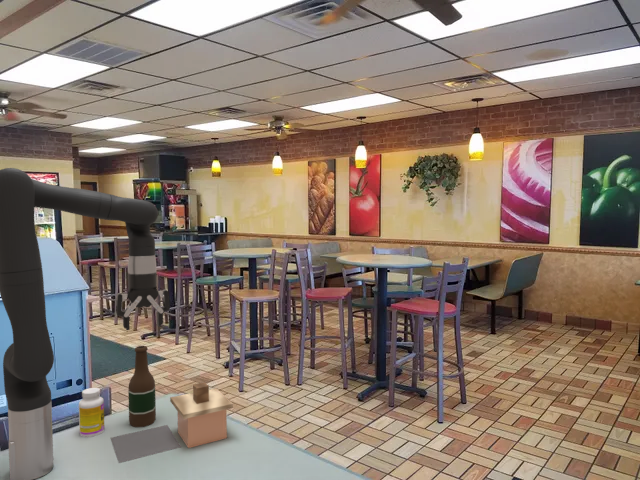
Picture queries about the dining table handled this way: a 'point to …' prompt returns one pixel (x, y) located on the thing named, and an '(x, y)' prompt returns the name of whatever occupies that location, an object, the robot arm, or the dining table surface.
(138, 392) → the beer bottle
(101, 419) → the supplement bottle
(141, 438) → the mat
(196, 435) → the terracotta square planter
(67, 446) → the dining table surface
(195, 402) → the lid
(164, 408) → the dining table surface
